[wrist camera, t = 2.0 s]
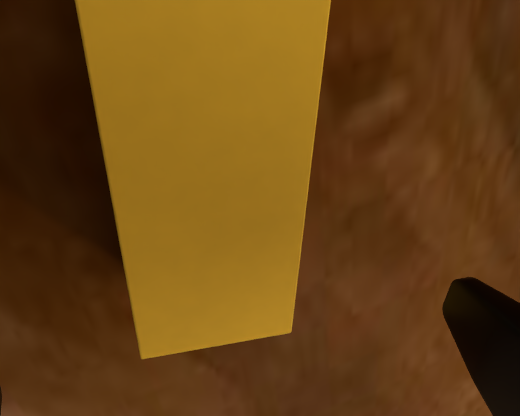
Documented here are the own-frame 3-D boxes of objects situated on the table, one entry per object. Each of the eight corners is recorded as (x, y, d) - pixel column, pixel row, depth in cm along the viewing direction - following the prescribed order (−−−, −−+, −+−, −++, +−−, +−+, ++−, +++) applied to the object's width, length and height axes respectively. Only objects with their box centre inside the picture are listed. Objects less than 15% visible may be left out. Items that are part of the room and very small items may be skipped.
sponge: (136, 273, 18) (140, 360, 15) (83, -54, 11) (70, -24, 8) (262, 255, 19) (291, 333, 16) (280, -53, 12) (335, -25, 9)
